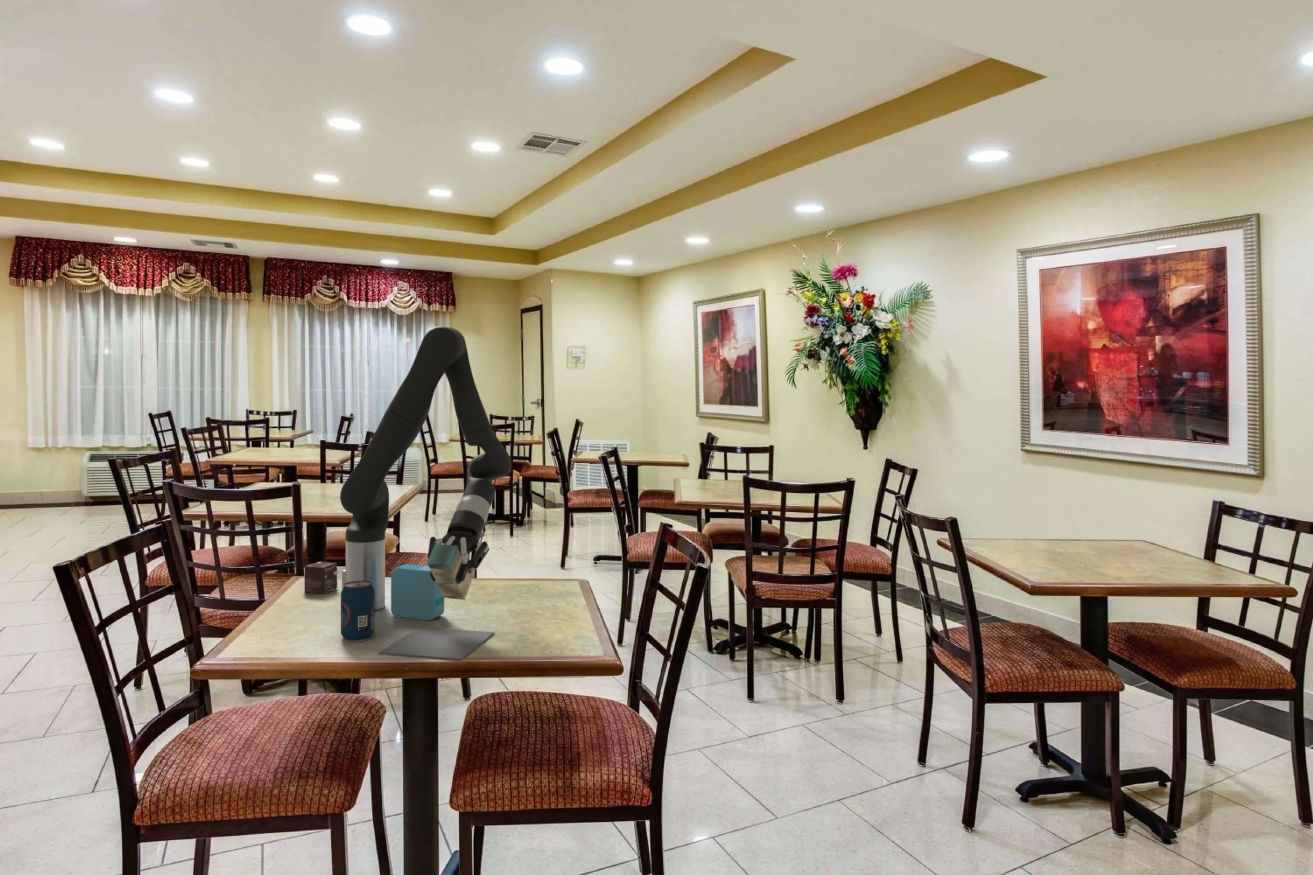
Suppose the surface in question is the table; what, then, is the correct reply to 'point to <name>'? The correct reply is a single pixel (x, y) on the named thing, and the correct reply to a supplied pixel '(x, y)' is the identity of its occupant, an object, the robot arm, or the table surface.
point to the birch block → (448, 571)
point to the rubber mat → (438, 643)
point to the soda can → (357, 610)
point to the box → (320, 577)
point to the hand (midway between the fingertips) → (445, 579)
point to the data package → (415, 593)
